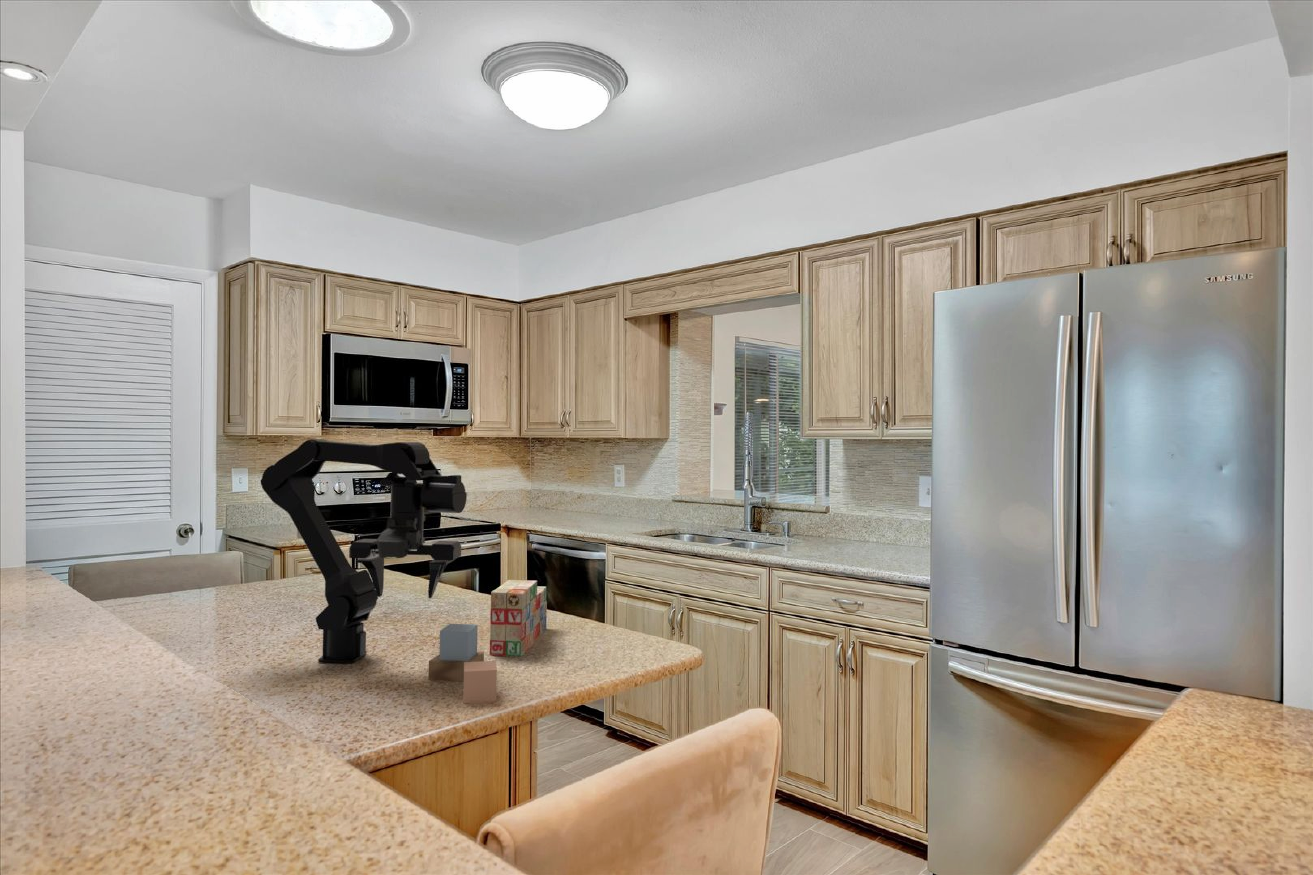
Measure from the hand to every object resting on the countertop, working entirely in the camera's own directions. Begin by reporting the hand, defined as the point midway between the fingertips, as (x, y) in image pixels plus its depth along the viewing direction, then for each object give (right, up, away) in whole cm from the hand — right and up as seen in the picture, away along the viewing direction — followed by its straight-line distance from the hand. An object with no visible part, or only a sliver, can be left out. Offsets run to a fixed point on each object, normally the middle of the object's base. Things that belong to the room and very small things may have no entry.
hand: (405, 597), depth 136 cm
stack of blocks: (+18, -13, +17) cm, 28 cm away
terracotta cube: (+17, -13, -16) cm, 27 cm away
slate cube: (+11, -9, -6) cm, 16 cm away
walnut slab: (+11, -13, -6) cm, 18 cm away
